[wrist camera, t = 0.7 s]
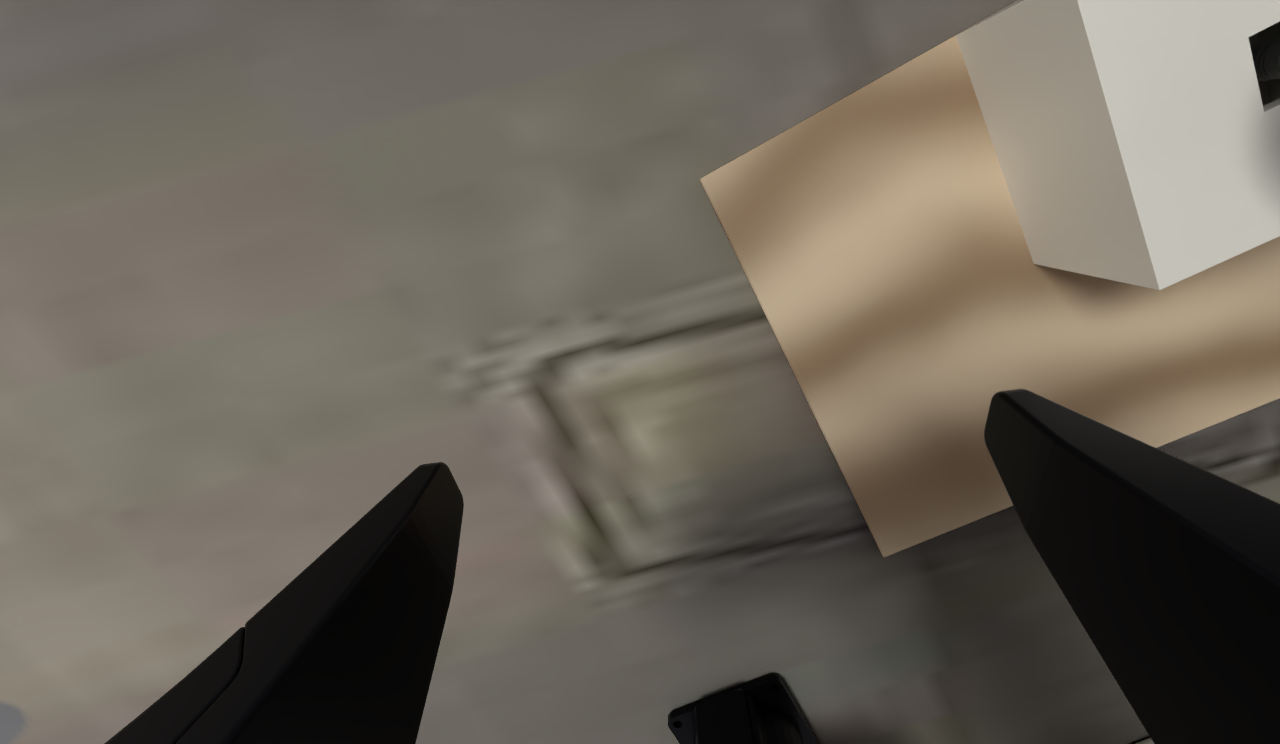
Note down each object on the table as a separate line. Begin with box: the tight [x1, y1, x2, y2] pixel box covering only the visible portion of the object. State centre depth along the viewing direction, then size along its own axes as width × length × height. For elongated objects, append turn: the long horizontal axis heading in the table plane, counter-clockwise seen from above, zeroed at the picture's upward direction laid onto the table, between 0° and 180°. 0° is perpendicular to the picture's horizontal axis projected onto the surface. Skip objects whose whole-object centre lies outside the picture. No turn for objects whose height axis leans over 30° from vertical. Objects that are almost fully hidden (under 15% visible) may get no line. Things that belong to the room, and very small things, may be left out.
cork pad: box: [699, 2, 1280, 557], centre depth 23 cm, size 19×19×1 cm
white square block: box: [956, 0, 1280, 290], centre depth 18 cm, size 9×9×6 cm
